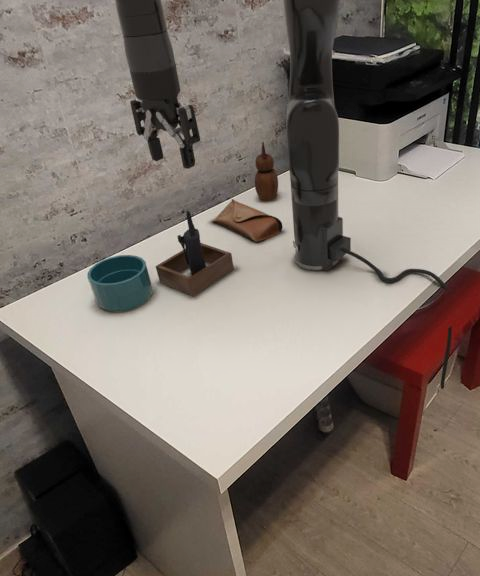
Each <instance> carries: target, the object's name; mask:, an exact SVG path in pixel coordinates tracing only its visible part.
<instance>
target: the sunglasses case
mask: <svg viewBox="0 0 480 576" xmlns="http://www.w3.org/2000/svg"><path fill="white" fill-rule="evenodd" d="M211 222H212V223H215V224H217V225H220V226H222V227H224V228H227V229H229V230H230V231H232V232H235V233H237V234H239V235H241V236H242V237H244V238H246V239H248V240H250V241H253V242H256V243H257V242H263V241H266V240H268V239H271V238H273V237H275V236H277V235H280V234H281V232H282V230H283V222H282V221H281V219H279V218H278V217H277V216H274V215H270V214H268V213H265V212H263V211H262V210H259V209H257V208H255V207H252V206H249V205H246V204H244V203H242V202H239V201H236V200H235V199H233V198H231V201H230V202H229V203H228V204H227V205H226V206H225V207H224V208H223V210H222V211H220V213H219V214H218V215H217V216H216V217H215V218H214V219H212V220H211Z"/></svg>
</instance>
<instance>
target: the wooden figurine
mask: <svg viewBox="0 0 480 576" xmlns="http://www.w3.org/2000/svg"><path fill="white" fill-rule="evenodd" d="M265 147H266V146H265V142H264V141H261V154H258V155H257V156H256V157H255V167H256V170H257V171H256V173H255V175H254V189H255V192H256V195H257V196H258V198H259V199H260V200H262V201H271V200H273V199H275V198H276V197H277V195H278V191H279V177H278V174H277V173H278V172H277V171H276V170H275V168H274V167H275V166H274V165H275V163H274V162H275V161H274V158H273V156H272V154H269V153H266V148H265Z"/></svg>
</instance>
